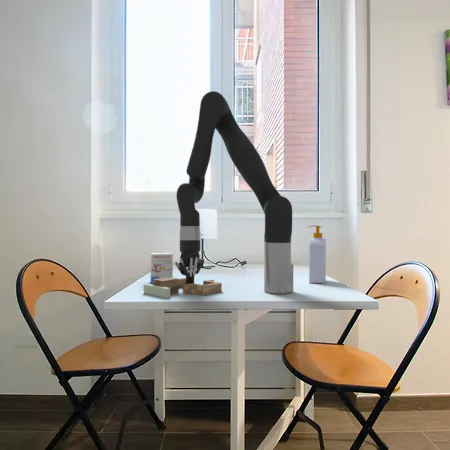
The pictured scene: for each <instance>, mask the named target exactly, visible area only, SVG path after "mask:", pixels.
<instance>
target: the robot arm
mask: <svg viewBox="0 0 450 450" xmlns="http://www.w3.org/2000/svg"><path fill="white" fill-rule="evenodd" d="M215 131H217V132H218V134H219V135H220V137H221V139H222V140H223V144H224V146H225V150H227V153H228V156H229V157H230V160H231V161H232V163H233V165H234V166H235V167H236V170H237V171H238V172H239V174H240V175H241V177H242V178H243V180H244V181H245V182H246V183H247V185H248V187H250V190H252V192H253V193H254V195H255V197H256V199H257V201H258V203H259V204H260V207H261V209H262V211H263V214H264V240H263V241H264V242H263V243H264V245H263V246H264V248H263V256H264V258H263V259H264V261H263V263H264V265H263V266H264V269H263V270H264V271H263V275H264V277H263V278H264V279H263V283H264V284H263V285H264V286H263V290H264V292H265V293H268V294H277V295H278V294H279V295H280V294H282V295H286V294H289V293H293V292H294V264H293V263H292V235H293V234H292V233H293V205H292V202H291V201H290V200H289V199H288V198H287V197H286V196H285V197H284V196H283V195H281V194H280V192H279V191H278V190H277V189H276V186H275V185H274V184H273V182H272V180H271V178H270V176H269V173H268V171H267V168H266V165H265V163H264V161H263V159H262V157H261V156H260V153H259V152H258V150H257V149H256V148H255V145H254V144H253V143H252V142H251V140H250V138H249V137H248V136H247V135H246V133H245V132H244V131H243V130H242V129H241V127H240V126H239V125H238V122H237V121H236V118H234V115H233V112H232V110H231V108H230V106H229V103H228V101H227V100H226V98H225V96H224V95H222V93H220V92H218V91H213V90H212V91H208V92H207V93H205V94H204V95H203V96H202V98H201V100H200V105H199V112H198V120H197V128H196V133H195V137H194V142H193V145H192V148H191V149H192V150H191V152H190V157H189V160H188V164H187V167H186V174H187V176H188V177H189V178H188V182H183V183H181V184H179V186H178V188H177V189H176V202H177V206H178V211H179V216H180V217H179V220H180V221H179V228H180V229H179V251H180V256H179V260H178V261H175V266H176V268H177V270H178V271H179V272H180V274H181V275H182V276H185V278H186V284H189V283H193V284H195V276H196V275H199V273H200V271H201V270H202V267H203V264H204V263H205V260H204V259H202V258H201V256H200V252H201V228H200V224H201V222H200V221H201V219H200V218H201V217H200V212H199V211H198V210H197V209H196V204H197V203H199V202H200V201H201V200H202V198H203V197H204V192H205V185H206V184H205V183H206V174H207V171H208V168H209V164H210V160H211V155H212V147H213V142H214V141H213V139H214V136H215V135H214V134H215Z"/></svg>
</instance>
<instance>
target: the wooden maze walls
mask: <svg viewBox="0 0 450 450" xmlns="http://www.w3.org/2000/svg"><path fill="white" fill-rule="evenodd" d="M178 279H179V289H181V288H182V295H188V294H195V295H201V296H207V295H212V294H216V292H217V293H219V292H220V293H221V292H222V285H223V283H222V282H218V281H215V280H214V279H206V280H203V281H202V282H203V283H202V284H198V283H194V284H193V283H189V284H186V277H182V278H178Z"/></svg>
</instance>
